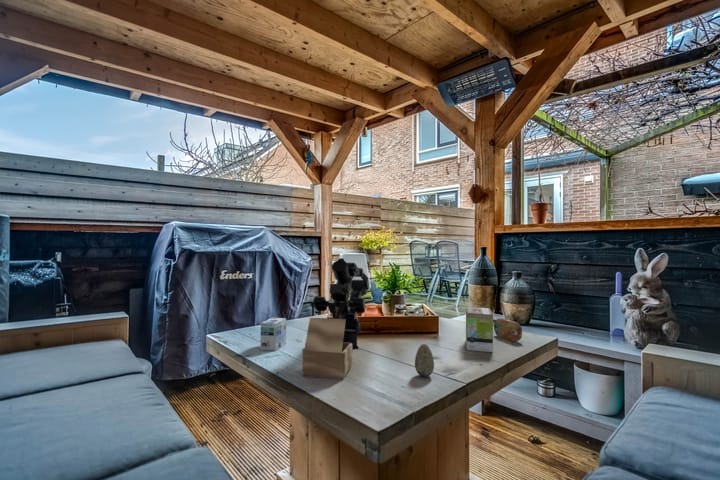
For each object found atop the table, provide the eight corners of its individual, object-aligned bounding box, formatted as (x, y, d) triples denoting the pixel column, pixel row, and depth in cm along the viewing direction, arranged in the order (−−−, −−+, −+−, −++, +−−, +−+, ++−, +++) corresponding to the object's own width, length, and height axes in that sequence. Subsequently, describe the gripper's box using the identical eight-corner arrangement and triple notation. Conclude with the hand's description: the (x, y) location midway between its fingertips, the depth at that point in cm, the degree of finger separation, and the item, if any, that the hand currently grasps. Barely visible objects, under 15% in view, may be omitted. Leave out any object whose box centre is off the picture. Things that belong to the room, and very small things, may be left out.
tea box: (494, 352, 132) (493, 313, 132) (466, 350, 135) (466, 312, 135) (490, 342, 147) (490, 307, 147) (465, 340, 149) (465, 306, 150)
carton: (314, 363, 120) (314, 340, 120) (353, 366, 117) (353, 342, 117) (301, 376, 109) (301, 350, 109) (344, 379, 106) (344, 352, 106)
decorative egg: (424, 381, 104) (424, 348, 104) (410, 375, 109) (410, 343, 109) (438, 377, 108) (438, 344, 108) (424, 371, 113) (423, 340, 113)
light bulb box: (275, 351, 135) (275, 323, 135) (259, 350, 136) (259, 322, 136) (286, 343, 145) (286, 317, 145) (272, 342, 147) (272, 317, 147)
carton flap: (310, 318, 114) (310, 317, 114) (345, 319, 111) (345, 319, 111) (304, 350, 109) (304, 350, 108) (341, 352, 106) (341, 352, 106)
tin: (493, 335, 158) (493, 316, 158) (499, 334, 159) (498, 316, 159) (517, 344, 144) (517, 323, 144) (523, 343, 145) (523, 323, 145)
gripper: (314, 274, 128) (303, 310, 117) (363, 275, 124) (357, 312, 113) (321, 293, 136) (311, 328, 125) (368, 294, 132) (362, 330, 121)
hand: (334, 324), depth 121 cm, fingers closed
